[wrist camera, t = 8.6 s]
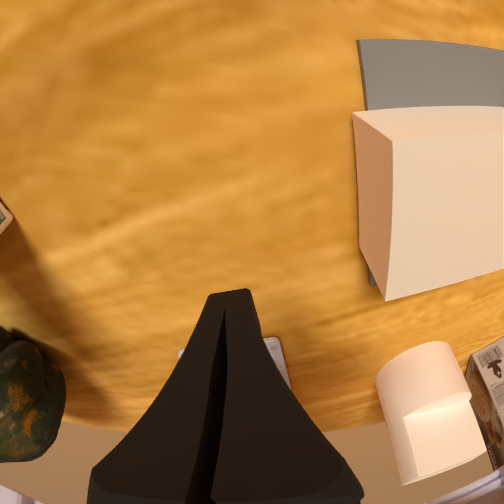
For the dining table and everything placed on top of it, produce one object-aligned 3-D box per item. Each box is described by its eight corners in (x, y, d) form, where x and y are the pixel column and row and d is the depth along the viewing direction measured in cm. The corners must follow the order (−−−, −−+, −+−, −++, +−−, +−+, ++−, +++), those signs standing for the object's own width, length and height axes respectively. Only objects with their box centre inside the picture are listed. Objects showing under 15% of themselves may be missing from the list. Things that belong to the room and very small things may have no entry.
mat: (500, 249, 19) (502, 252, 19) (368, 282, 20) (370, 286, 20) (524, 55, 10) (528, 56, 10) (356, 39, 11) (359, 40, 11)
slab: (359, 247, 18) (487, 220, 17) (384, 301, 15) (524, 261, 14) (351, 112, 13) (501, 106, 12) (392, 141, 10) (554, 134, 9)
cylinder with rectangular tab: (362, 394, 31) (384, 493, 21) (395, 345, 25) (435, 466, 16) (426, 384, 32) (454, 470, 22) (465, 337, 26) (508, 435, 17)
